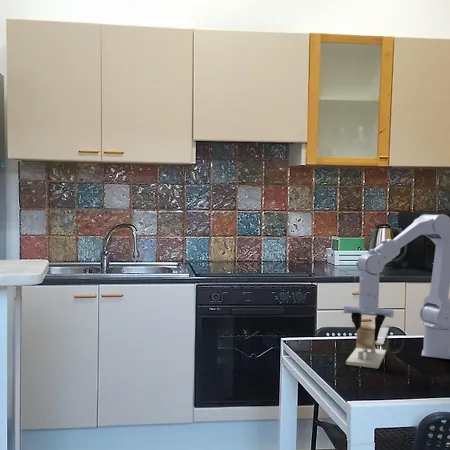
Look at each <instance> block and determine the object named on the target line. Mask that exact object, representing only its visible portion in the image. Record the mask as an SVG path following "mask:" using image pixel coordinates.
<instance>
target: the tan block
mask: <svg viewBox="0 0 450 450" xmlns="http://www.w3.org/2000/svg"><path fill="white" fill-rule="evenodd" d="M377 341H378V340H377ZM377 341H375V323H370V322H363V323H361V327H360V328H359V329H358V330H357V331H356V343H355V344H356V346H355V349H356V348H361V349H370V350H372V349H373V347H374V345H375V344H376V342H377Z"/></svg>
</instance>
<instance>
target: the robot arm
mask: <svg viewBox="0 0 450 450" xmlns="http://www.w3.org/2000/svg"><path fill="white" fill-rule="evenodd" d="M423 235H424V236H425V237H427V238H429V240H431V241H432V242H433V244H434V245H435V250H434V259H433V265H432V266H433V267H432V272H431V273H432V274H431V281H430V291H429V294H428V296H426V297H425V298H424V300H423V303H422V306H421V308H420V309H419V317H420V320H421V321H422V322H423V323H422V324H423V325H424V327H423V349H422V350H421V357H426V358H427V357H428V358H429V357H430V358H437V359H445V360H450V298H449V294H450V217H449V216H448V215H447V214H443V213H442V214H428V213H424V214H421V215H420V216H419V217H417V218H415V219H414V220H413V222H412V223H411V224H410V225H408V226H407V227H406V228H405V229H404V230H402V231H401V232H400V233H399V234H397V236H395V237H394V238H393V239H391V238H387V239H385V238H383V239H382V240H381V241H380V244H378V245H377V246H376V247H374V248H371V249H370V250H369V252H368V253H364V254H361V255H360V256H359V257H358V260H357V262H355V265H356V268H357V270H358V272H359V273H358V274H359V284H358V285H359V288H358V291H359V292H358V306H351V305H350V306H349V305H348V306H347V305H345V306H343V314H351V315H350V317H351V320H352V322H353V324H354V327H355V330H356V332H357V330H358V329H359V328H360V327H361V325H362V319H363V318H362V316H363V315H364V316H365V315H366V316H375V317H374V324H375V341H377V340H378V334H379V331H380V328H381V327H382V325H383V322H384V321H385V319H386V318H391V319H393V318H394V316H395V311H394V310H393V309H385V308H380V307H379V301H380V300H379V299H380V298H379V295H380V293H379V292H380V273H382V272H383V270H384V268H385V265H386V264H388V263H389V262H390V261H392V260H393V259H395V258H396V257H397V256H399V254H400V253H401V249H402V248H403V247H405V246H406V245H407V244H409V243H410V242H412V241H413V240H415V239H417V238H418V237H420V236H423Z"/></svg>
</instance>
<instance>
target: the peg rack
mask: <svg viewBox="0 0 450 450" xmlns="http://www.w3.org/2000/svg"><path fill="white" fill-rule="evenodd" d="M386 353H387V350H386V349H379V348H376V346H375V345H374V347H373V349H372V350H370V349H361V348H356V347H355V348H354V350H353V352H351V353H350V355H349V356H348V358H347V359H346V360H345V366H346V365H348V366H355V367H364V368H370V369H371V368H372V369H379V368H380V365H381V364H382V362H383V360H384V357H385V355H386Z"/></svg>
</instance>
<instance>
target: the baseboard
mask: <svg viewBox="0 0 450 450" xmlns="http://www.w3.org/2000/svg"><path fill="white" fill-rule="evenodd" d="M387 326H388V327H387ZM389 326H390V325H386V327H385V326H381V328H380V331H379V334H378V337H383V338H378V341H377V342H376V345H383V344H384V345H385V342H386V340H385V338H386V339H387V337H388V333H389V332H390V331H389V330H390V327H389ZM384 341H385V342H384ZM384 345H383V346H384Z"/></svg>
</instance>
